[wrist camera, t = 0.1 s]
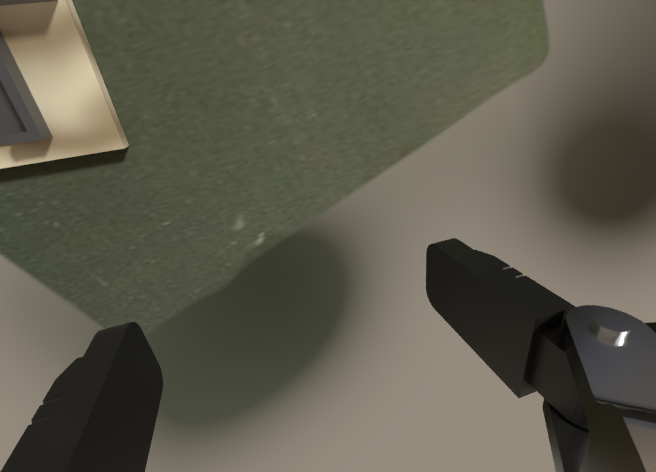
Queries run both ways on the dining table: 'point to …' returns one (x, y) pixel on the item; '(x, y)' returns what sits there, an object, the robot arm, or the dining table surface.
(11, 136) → the frame
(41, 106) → the board
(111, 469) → the robot arm
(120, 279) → the dining table surface
